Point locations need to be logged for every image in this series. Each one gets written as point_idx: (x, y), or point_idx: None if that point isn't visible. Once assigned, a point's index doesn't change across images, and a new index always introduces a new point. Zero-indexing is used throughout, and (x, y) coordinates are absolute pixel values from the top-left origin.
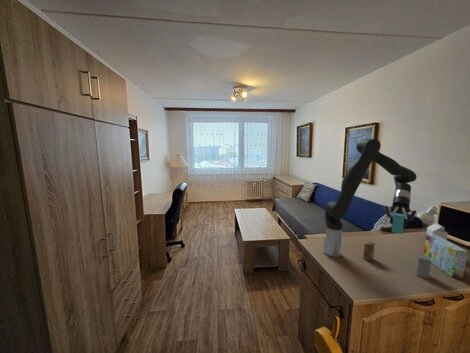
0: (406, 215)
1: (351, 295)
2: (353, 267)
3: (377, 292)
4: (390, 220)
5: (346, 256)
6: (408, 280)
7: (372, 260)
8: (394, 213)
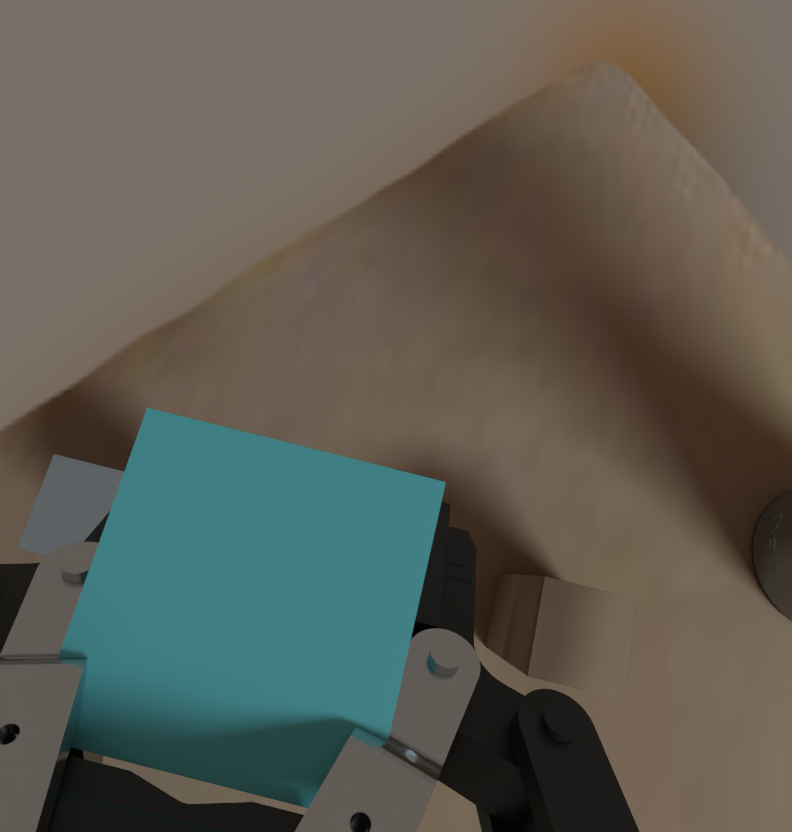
0: (3, 660)
1: (624, 77)
2: (635, 391)
3: (495, 162)
4: (464, 561)
5: (703, 563)
6: (283, 391)
7: (497, 591)
8: (383, 685)
